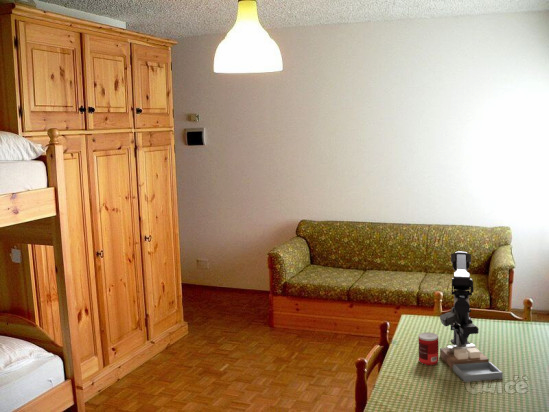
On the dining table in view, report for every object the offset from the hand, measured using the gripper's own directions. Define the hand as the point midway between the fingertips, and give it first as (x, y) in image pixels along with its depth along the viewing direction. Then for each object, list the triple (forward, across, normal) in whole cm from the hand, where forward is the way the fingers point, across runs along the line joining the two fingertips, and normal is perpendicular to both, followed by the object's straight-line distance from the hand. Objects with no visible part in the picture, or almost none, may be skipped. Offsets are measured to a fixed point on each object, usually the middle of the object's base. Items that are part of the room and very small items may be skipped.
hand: (461, 343), depth 236 cm
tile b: (+3, +5, +3) cm, 7 cm away
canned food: (+7, 0, -14) cm, 15 cm away
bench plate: (+7, +2, 0) cm, 7 cm away
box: (+7, +14, 0) cm, 16 cm away
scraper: (+3, 0, 0) cm, 3 cm away
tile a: (+3, +5, -2) cm, 7 cm away
